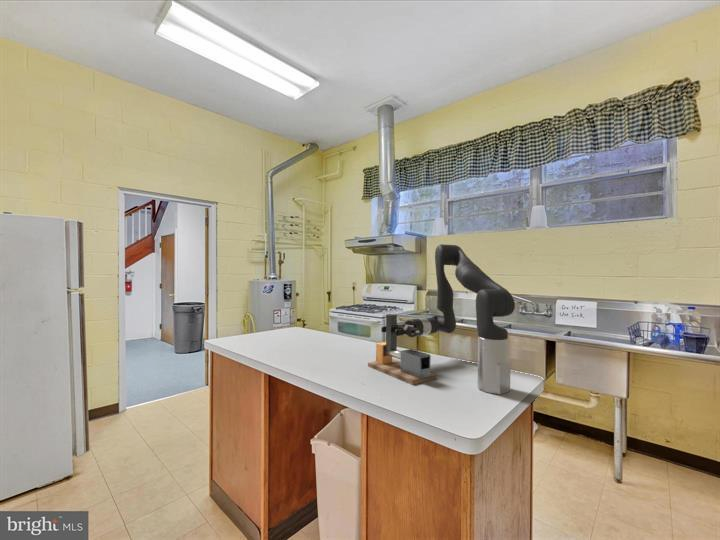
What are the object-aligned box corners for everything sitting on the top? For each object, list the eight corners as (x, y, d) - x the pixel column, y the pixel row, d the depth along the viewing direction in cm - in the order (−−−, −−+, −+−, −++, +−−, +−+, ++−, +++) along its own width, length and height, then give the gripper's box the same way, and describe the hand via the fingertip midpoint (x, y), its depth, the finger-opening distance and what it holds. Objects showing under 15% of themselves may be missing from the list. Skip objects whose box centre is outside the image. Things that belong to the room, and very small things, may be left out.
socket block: (392, 362, 132) (392, 343, 133) (382, 364, 130) (382, 345, 130) (385, 360, 136) (386, 341, 136) (376, 361, 133) (376, 343, 133)
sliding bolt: (415, 362, 120) (415, 318, 120) (409, 363, 118) (409, 318, 118) (385, 352, 134) (385, 312, 134) (379, 353, 133) (380, 313, 133)
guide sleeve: (430, 376, 115) (430, 354, 115) (419, 378, 112) (420, 356, 112) (410, 369, 123) (410, 349, 123) (400, 371, 120) (400, 350, 121)
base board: (436, 378, 117) (436, 374, 117) (412, 385, 110) (412, 380, 110) (390, 361, 139) (390, 358, 139) (367, 366, 132) (368, 362, 132)
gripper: (406, 316, 143) (377, 319, 134) (430, 320, 132) (400, 324, 122) (406, 333, 143) (377, 337, 134) (430, 339, 132) (400, 344, 122)
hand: (388, 331), depth 128 cm, fingers open, 8 cm apart
